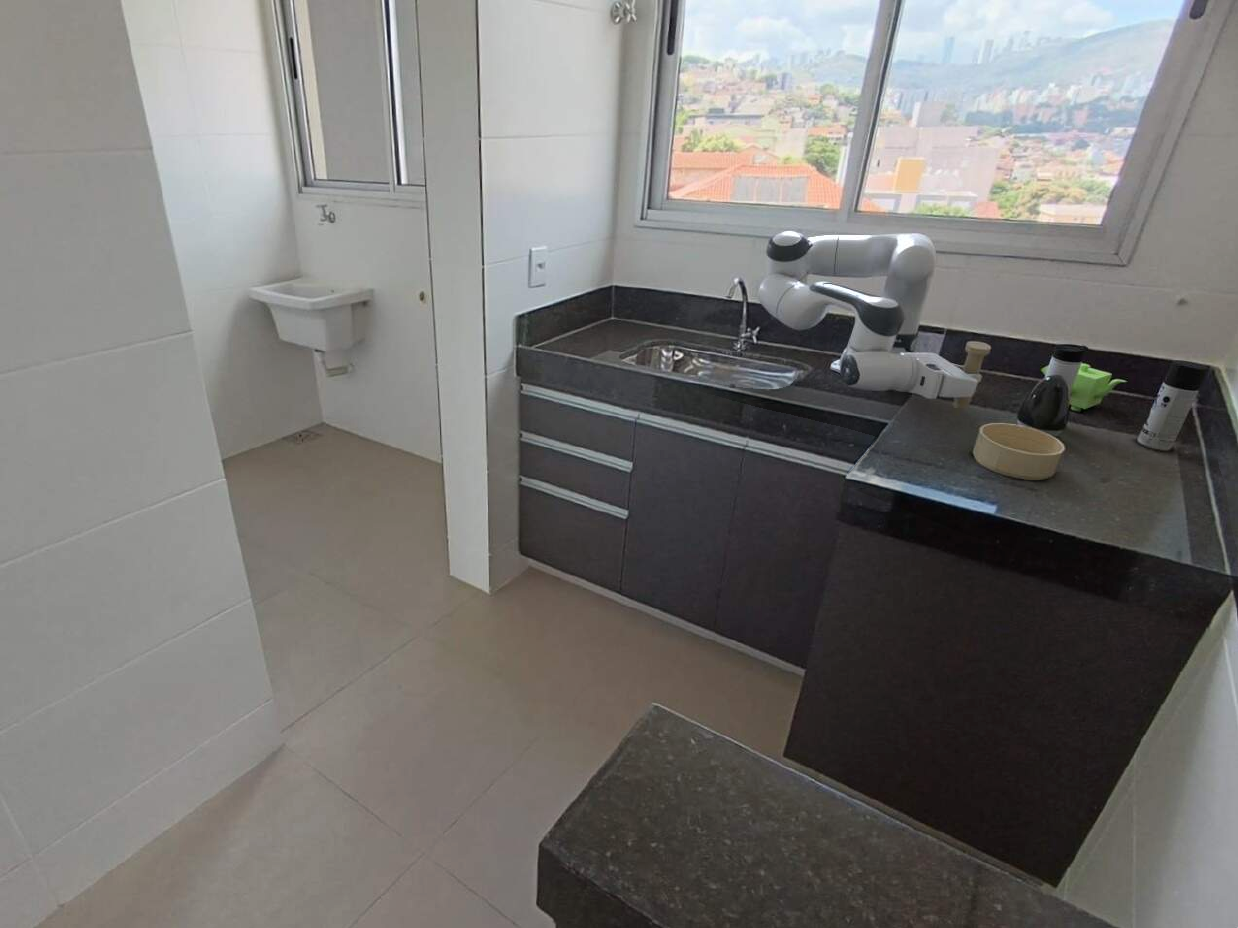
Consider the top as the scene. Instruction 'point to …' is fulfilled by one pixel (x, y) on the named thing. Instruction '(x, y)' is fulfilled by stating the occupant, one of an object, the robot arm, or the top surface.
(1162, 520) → the top surface
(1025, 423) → the black tapered dome
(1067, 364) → the travel mug
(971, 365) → the handle
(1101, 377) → the kettle
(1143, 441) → the spray can
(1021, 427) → the bowl
